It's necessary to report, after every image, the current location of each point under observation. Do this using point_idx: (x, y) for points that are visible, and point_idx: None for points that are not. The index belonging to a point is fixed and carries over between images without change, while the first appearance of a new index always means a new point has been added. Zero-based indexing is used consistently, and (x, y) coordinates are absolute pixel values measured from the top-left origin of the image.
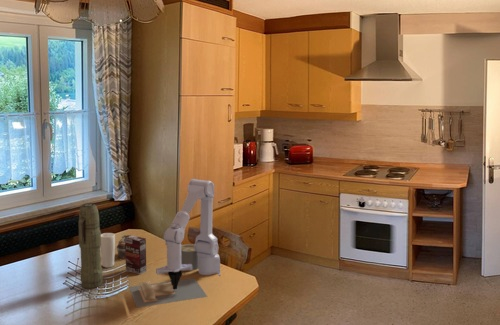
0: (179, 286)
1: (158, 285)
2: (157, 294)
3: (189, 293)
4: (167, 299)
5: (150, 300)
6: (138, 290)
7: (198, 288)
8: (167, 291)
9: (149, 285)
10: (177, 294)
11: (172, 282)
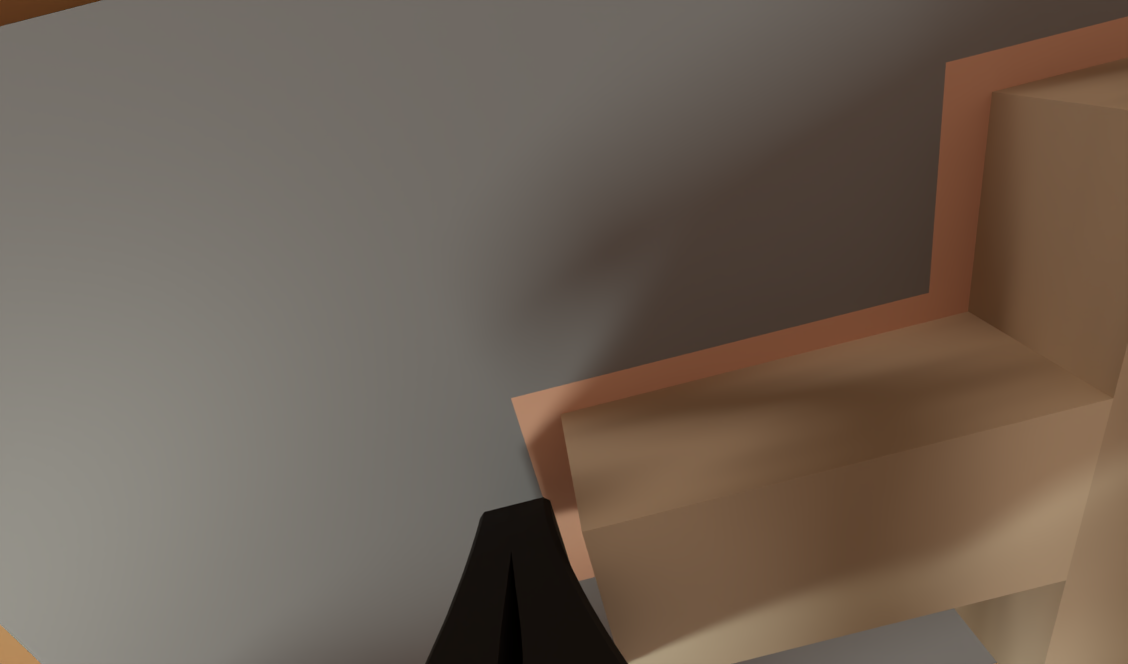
0: None
1: (923, 560)
2: (890, 342)
3: (172, 373)
4: (702, 82)
5: (1108, 66)
6: None
7: (34, 579)
8: (689, 414)
9: (1108, 561)
10: (458, 343)
11: (604, 632)
